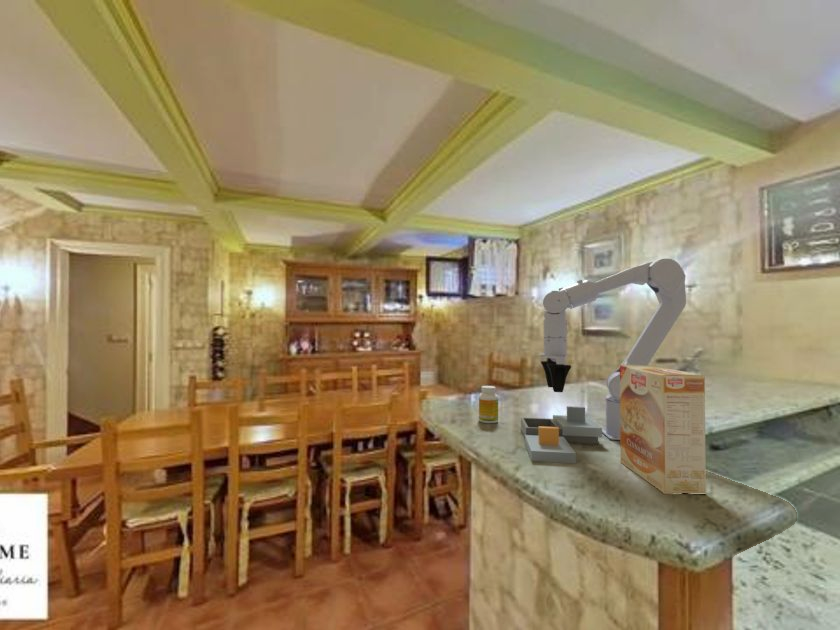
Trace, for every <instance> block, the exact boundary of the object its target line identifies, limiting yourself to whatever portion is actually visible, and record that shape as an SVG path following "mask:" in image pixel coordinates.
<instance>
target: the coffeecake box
mask: <svg viewBox="0 0 840 630" xmlns="http://www.w3.org/2000/svg"><path fill="white" fill-rule="evenodd" d="M619 366H620V440H619V442H620V463H621V464H622V465H624V466H625V467H627V468H628V469H629V470H631V471H633V472H634V473H635V474H636V475H638V476H639V477H641V478H642V479H643V480H645V481H646V482H647V483H649V484H650V485H651V486H653V487H654V486H655V487H654V488H656V489H657V488H658V489H657V490H659V491H660V492H661V493H663V494H664V495H674V494H673V493H705V492H706V493H707V483H706V482H707V481H706V479H707V478H706V477H707V476H706V475H707V474H706V472H707V470H706V468H707V464H706V457H707V456H706V399H705V398H706V394H705V393H706V392H705V390H706V389H705V386H706V385H705V383H706V382H705V379H706V378H705V377H706V375H704V374H698V373H693V372H689V371H688V372H687V371H682V370H678V369H672V368H667V367H662V366H657V365H653V364H651V365H649V364H648V365H621V364H619ZM670 493H672V494H670Z"/></svg>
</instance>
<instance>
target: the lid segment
mask: <svg viewBox="0 0 840 630" xmlns="http://www.w3.org/2000/svg"><path fill="white" fill-rule="evenodd" d="M552 419H554V420H555V421H556V422H557V424H558V425H559V426H560V427H561V428H562V430H563V435H567V436H590V437H598V438H603V433H602V429H603V427H601V426H600V425H599V424H598V423H596V422H595V421H594V420H593V419H591V417H589V416H586V407H584V406H570V405H569V406H568V405H567V406H566V415H563V414H562V415H559V414H557V415H556V414H553V415H552Z"/></svg>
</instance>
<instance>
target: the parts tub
mask: <svg viewBox="0 0 840 630" xmlns="http://www.w3.org/2000/svg"><path fill="white" fill-rule="evenodd" d="M538 426H544V427H558V428H559V437H564V438H565V439H566V441H567V442H568V443H569V445H570V444H573V445H591V446H592V445H595V446H598V445H599V437H590V436H567V435H563V430H562V428H561V427H560V426H559V425H558V424H557V422H556V421H555V420H554V419H553V418H541V417H540V418H539V417H520V431H521V433H522V435H523V438H524V439H525V435H536V436H538Z"/></svg>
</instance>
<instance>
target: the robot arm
mask: <svg viewBox="0 0 840 630" xmlns="http://www.w3.org/2000/svg"><path fill="white" fill-rule="evenodd" d="M651 264H652V265H651ZM686 278H687V276H686V274H685V271H684V270H683V268H682V267H681V265H680V263H679V262H678V261H676V260H674V259H672V258H667V257H666V258H661V259H658V260H656V261H655V262H654V263H653V261H650V262H646V263H642V264H640V265H636V266H633V267H631V268H628V269H625V270H622V271H620V272H618V273H616V274H615V273H614V274H613V275H610V276H608V277H604V278H602V279H600V280H598V281H591V280H589V279H585V280H583V279H578V280H577V281H576V283H575V284H571V285H569V286H566V287H564V288H563V287H558V290H551V291H550V292H548V293H547V294H546V295H545V296H544V298H543V299H542V305H543V306H542V307H543V308H544V313H543V317H544V319H543V353H539V354H538V357H540V358H546V359H545V360H541V361H540V364H541V365H542V368H543V371H544V373H545V374H544V375H545V379H546V385H547V387H548V388H552V390H553V393H563V392H564V389H565V383H566V379H567V377H568V374H569V372H570V370H571V368H572V365H571V364H566V359H568V354H567V353H568V351H567V350H568V348H567V345H568V344H567V343H568V342H567V341H568V340H567V339H568V337H567V333H568V332H567V330H568V329H567V325H568V324H567V318H566V310H567V309H570V310H572V309H576V308H578V307H581V306H584V305H586V304H589V303H592V302H596V300H597V298H598V296H600V294H602V293H606V292H609V291H612V290H615V289H617V288H618V289H619V288H621V287H624V286H627V285H631V284H634V285H640V286H644V285H646V284H647V286H648V287H649V288H650V289H651V290H652V291H653V292H654V293H655V296H656V298H657V301H658V303H659V304H658V306H657V307H656V310H655V311H654V313H653V314H652V315H651V318H650V319H649V321H648V323H647V324H646V325H645V327H644V328H643V330H642V332H641V333H640V335H639V336H638V338H637V339H636V341H635V343H634V345H633V346H632V348H631V349H630V351H629V353H628V354H627V355H626V357H625V359H624V360H623V361H622V363H620V365H649V364H650V363H651V361H652V359H653V357H654V356H655V355H656V353H657V351H658V349H659V348H660V346H661V345H662V343H663V341H664V340H665V339H666V337H667V335H668V334H669V332H670V331H671V329H672V327H673V326H674V324H675V323H676V321H677V320H678V318H679V317H680V315H681V314H682V313H683V310H684V309H685V307H686V305H687V295H686V284H685V283H686ZM620 365H619V367H618V368H617V369H615V370H614V371H613V372H611V373H610V374H609V375H608V376H607V378H606V386H607V389H608V392H609V393H608V394H607V395H605V428H602V435H605V436H606V438H608V439H609V440H610V441H611V440H613V441H620Z"/></svg>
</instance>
